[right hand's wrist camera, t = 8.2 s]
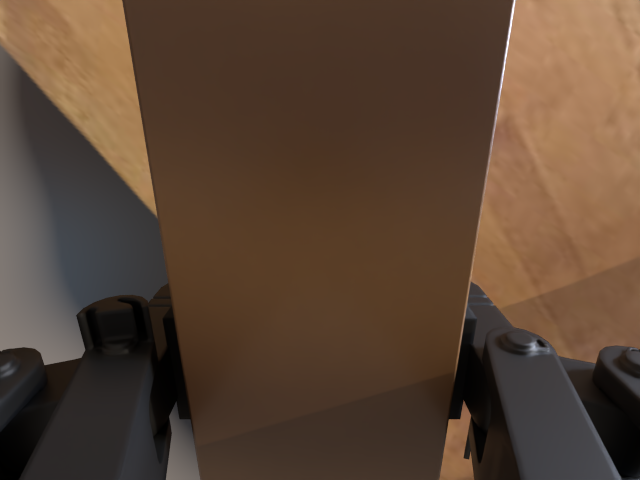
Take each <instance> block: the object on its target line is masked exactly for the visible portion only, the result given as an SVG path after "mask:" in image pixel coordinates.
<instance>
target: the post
mask: <svg viewBox="0 0 640 480" xmlns="http://www.w3.org/2000/svg"><path fill="white" fill-rule="evenodd" d="M122 1H123V7H124V13H125V19H126V26H127V32H128V38H129V44H130V50H131V56H132V62H133V69H134V75H135V81H136V87H137V93H138V99H139V105H140V112H141V118H142V124H143V130H144V136H145V142H146V148H147V154H148V161H149V167H150V173H151V179H152V185H153V191H154V197H155V204H156V210H157V216H158V222H159V228H160V234H161V240H162V246H163V253H164V259H165V265H166V271H167V277H168V283H169V289H170V296H171V302H172V308H173V314H174V320H175V326H176V332H177V339H178V345H179V351H180V357H181V363H182V369H183V375H184V381H185V388H186V394H187V400H188V406H189V412H190V418H191V424H192V430H193V437H194V443H195V449H196V455H197V461H198V467H199V473H200V480H439V477H440V471H441V465H442V458H443V452H444V446H445V439H446V433H447V427H448V421H449V414H450V408H451V402H452V396H453V389H454V383H455V377H456V370H457V364H458V358H459V352H460V345H461V339H462V333H463V326H464V320H465V314H466V308H467V301H468V295H469V289H470V282H471V276H472V270H473V264H474V257H475V251H476V245H477V239H478V232H479V226H480V220H481V213H482V207H483V201H484V195H485V188H486V182H487V176H488V169H489V163H490V157H491V151H492V144H493V138H494V132H495V126H496V119H497V113H498V107H499V100H500V94H501V88H502V82H503V75H504V69H505V63H506V56H507V50H508V44H509V38H510V31H511V25H512V19H513V13H514V6H515V0H122Z"/></svg>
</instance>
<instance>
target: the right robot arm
mask: <svg viewBox="0 0 640 480" xmlns="http://www.w3.org/2000/svg"><path fill="white" fill-rule="evenodd" d="M76 316H77V320H78V323H79V327H80V331H81V335H82V339H83V342H84V346H85V352H84V354H83V356H82V358H79V359H75V360H70V361H65V362H59V363H54V364H49V365H44V363H43V360H42V357H41V354H40V352H38V351H37V350H36V349H32V348H24V347H23V348H15V349H6V350H3V351H0V480H166V473H167V465H168V458H169V450H170V442H171V434H172V432H171V425H170V420H169V415H170V413H171V411H172V409H173V407H174V405H175V403H176V401H177V407H178V413H179V418H180V419H191V418H190V412H189V406H188V400H187V394H186V388H185V381H184V375H183V369H182V363H181V357H180V351H179V345H178V339H177V332H176V326H175V320H174V314H173V308H172V302H171V296H170V289H169V283H168V284H166V285H165V286H163V287H161V289H160V290H159V291H158V292H157V293H156V294H155V296H154V297H153V299H151V300H150V302H149V303H148V301H147V300H146V299H144V298H143V297H140V296H135V295H119V296H114V297H109V298H105V299H102V300H100V301H97V302H94V303H92V304H90V305H89V306H87V307H85V308H83V309H82V310H81V311H80V312H79V313H78V314H77V315H76ZM463 400H464V401H465V403H466V405H467V408H468V410H469V412H470V414H471V420H470V425H469V430H468V436H467V441H466V447H465V453H464V458H465V459H469V456H470V451H471V457H472V464H473V472H474V480H640V350H638V348H633V347H624V346H609V347H605V348H604V349H602V350H601V351H600V352H599V355H598V359H597V362H596V364H595V363H590V362H584V361H579V360H574V359H569V358H564V357H560V356H558V355H557V353H556V351H555V349H554V348H553V347H552V346H551V345H550V344H549V342H547V341H546V340H544V339H543V338H541V337H540V336H538V335H536V334H534V333H531V332H529V331H527V330H523V329H519V328H514V327H513V326H512V325H511V324H510V323H509V322H508V320H507V319H506V318H505V317H504V316H503V314H502V313H501V312H500V311H499V310H498V308H497V307H496V306H495V305H493V303H492V301H491V300H490V299H489V298H488V297H487V295H486V294H485V293H484V292H483V291H482V290H481V288H480V287H479V286H478V285H476V284H474V283H472V282H470V289H469V295H468V301H467V308H466V314H465V320H464V326H463V333H462V339H461V345H460V352H459V358H458V364H457V370H456V377H455V383H454V389H453V396H452V402H451V408H450V414H449V419H460V417H461V411H462V405H463Z"/></svg>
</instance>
